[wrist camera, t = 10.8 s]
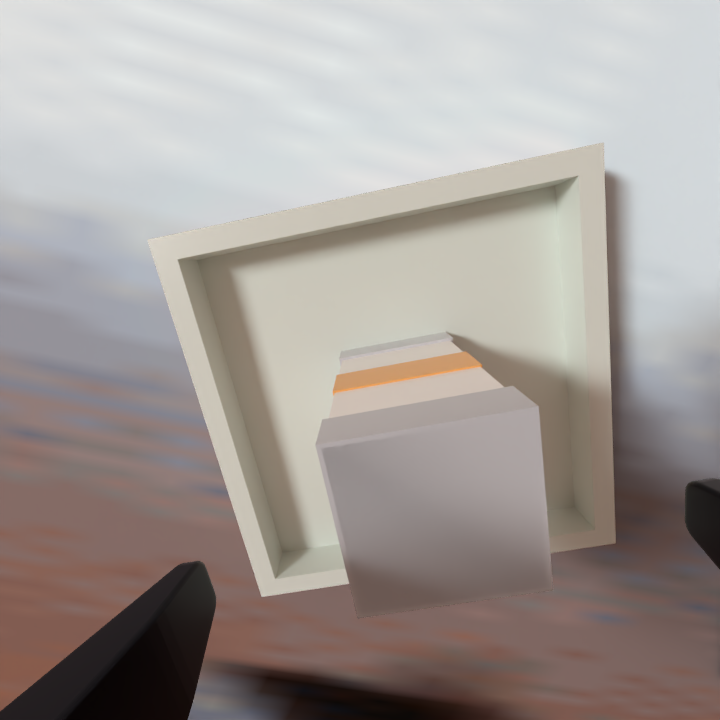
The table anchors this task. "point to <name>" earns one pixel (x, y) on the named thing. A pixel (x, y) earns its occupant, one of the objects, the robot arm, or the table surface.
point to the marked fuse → (433, 479)
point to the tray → (398, 335)
